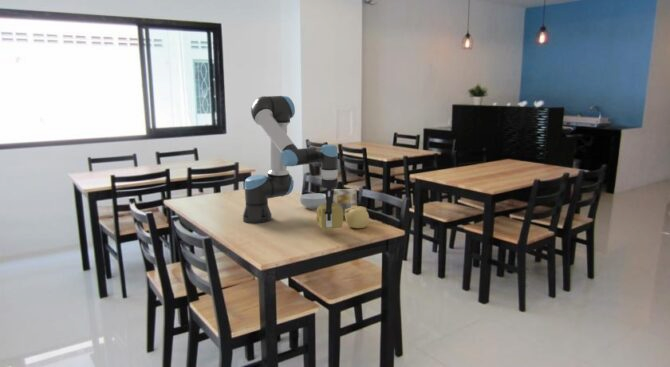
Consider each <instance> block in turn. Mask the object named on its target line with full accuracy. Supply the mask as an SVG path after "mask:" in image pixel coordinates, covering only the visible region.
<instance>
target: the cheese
mask: <svg viewBox="0 0 670 367" xmlns="http://www.w3.org/2000/svg"><path fill="white" fill-rule="evenodd" d="M328 211H330V210H328ZM325 212H326V203H325V204H323V205H322V206H318V208H317V209H316V218H315V222H316V225H318V226H319V227H320V230H329V229H330V230H332V229H340V228H341V229H342V228H343V224H344V220H343V210H342V207H340V206H339V205H338V204H337V203H332V227H326V214H325Z"/></svg>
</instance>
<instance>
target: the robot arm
mask: <svg viewBox="0 0 670 367" xmlns="http://www.w3.org/2000/svg"><path fill="white" fill-rule="evenodd" d="M295 108H296V107H295V104H294V101H293V100H292V99H291V98H290V97H289V96H285V95H270V96H269V95H267V96H265V95H262V96H259V97H257V98H256V99H255V100H254V101H253V103H252V105H251V108H250V113H251V117H252V119H253V121H254V122H255V124H257V125H258V126H260V127H261V128H262V129H263V131H264V132H265V133H266V136H268V137H269V139H270V170H268V171H267V175H266V174H254V175H251V176H248V177H247V178H246V179H245V180H244V185H243V186H244V195H245V196H244V199H245V208H244V211H243V214H242V221H243V223H248V224H260V223H267V222H270V221H271V220H272V217H273V216H272V211H271V210H270V207H269V202H268V201H269V199H274V198H279V197H280V198H281V197H285V196H289V195H290V194H291V193H292V191H293V190H294V185H295V184H294V179H293V176H292V175H291V174H290V172H289V170H288V169H287V167H296V166H297V167H298V166H303V165H304V166H305V165H311V164H320V165H321V167H320V168H321V170H320V171H321V172H320V175H321V187H322V188H326V189H325V191H324V194H325V195H326V212H325V214H326V227H332V203H333V195H334V190H333V189H334V188H337V187H338V183H339V182H338V179H339V178H338V175H339V173H340V171H338V169H339V168H338V165H339V164H338V162H339V161H338V160H339V158H338V157H339V156H338V155H339V151H338V146H337V145H336V144H323V145H321V146H320V147H319V146H318V147H317V146H315V145H314V146H311V145H310V146H307V147H304V148H298V146H296V145H295V143H294V142H293V140H292V139H291V137H289V135H288V125H289V124H290V123H291V119H292V118H294V116H295V114H296V109H295ZM328 210H330V211H328Z"/></svg>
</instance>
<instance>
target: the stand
mask: <svg viewBox="0 0 670 367" xmlns="http://www.w3.org/2000/svg"><path fill="white" fill-rule="evenodd" d="M333 190H334V195H333V203H337V204H338V205H339V206H340V207H342V210H343V221H346V219H345V210H346V209H348V208H351V207H353V206H358V205H357V204H358V199H357V198H358V196H357V193H358V192H357V191H358V189H356V188H355V189H353V188H351V189H350V188H348V189H347V188H346V189H345V188H344V189H341V188H338V189H336V188H335V189H334V188H333Z"/></svg>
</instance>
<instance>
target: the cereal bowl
mask: <svg viewBox="0 0 670 367" xmlns="http://www.w3.org/2000/svg"><path fill="white" fill-rule="evenodd" d="M299 202H300V204H301V205H302V206H303V207H306V208H308V209H310V210H317V208H318V206H322V205H323V204H325V203H326V195H325V193H319V192H318V193H305V194H301V195H300V196H299Z"/></svg>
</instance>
